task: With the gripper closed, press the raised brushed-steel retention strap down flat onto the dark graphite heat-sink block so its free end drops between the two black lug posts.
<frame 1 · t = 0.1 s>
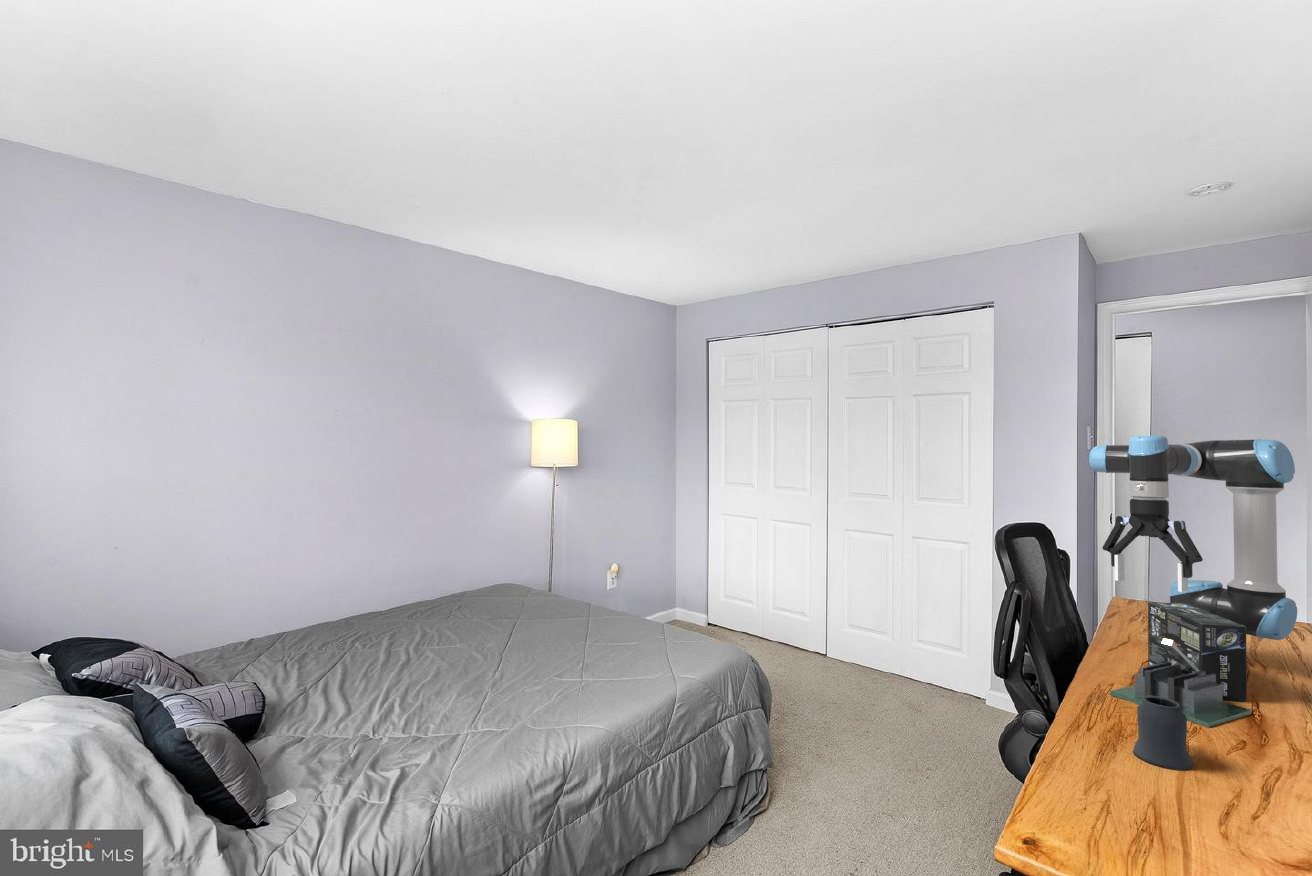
hand: (1150, 585, 150), 28 cm above the table, fingers open, 13 cm apart
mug: (1161, 757, 122), on the table
strap: (1182, 657, 149), point 11 cm above the table, hinge at 35.0°
box: (1194, 685, 161), on the table
heatsink: (1178, 704, 148), on the table
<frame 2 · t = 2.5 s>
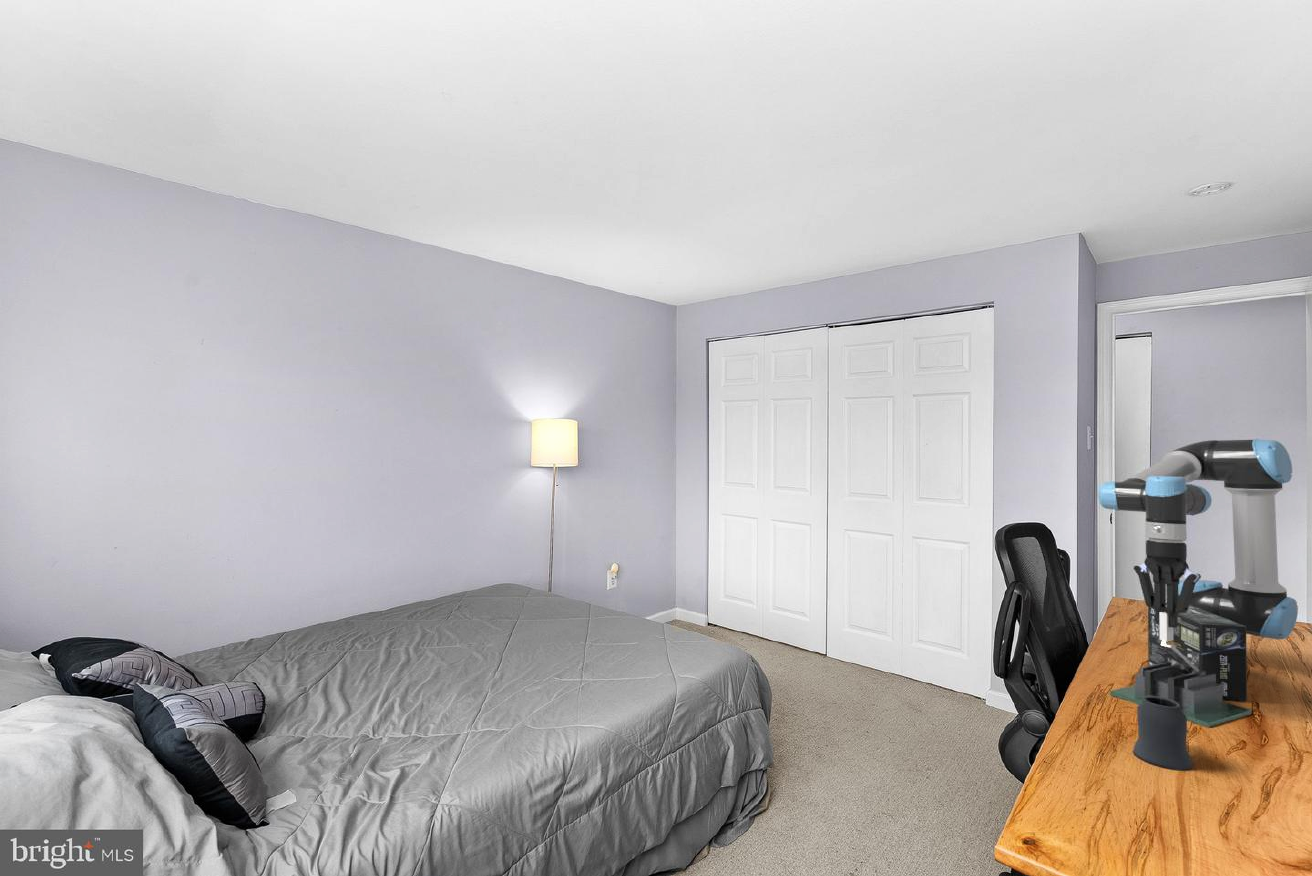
hand: (1166, 639, 146), 16 cm above the table, fingers closed
strap: (1182, 658, 149), point 11 cm above the table, hinge at 33.3°, touching gripper
everything else where it was.
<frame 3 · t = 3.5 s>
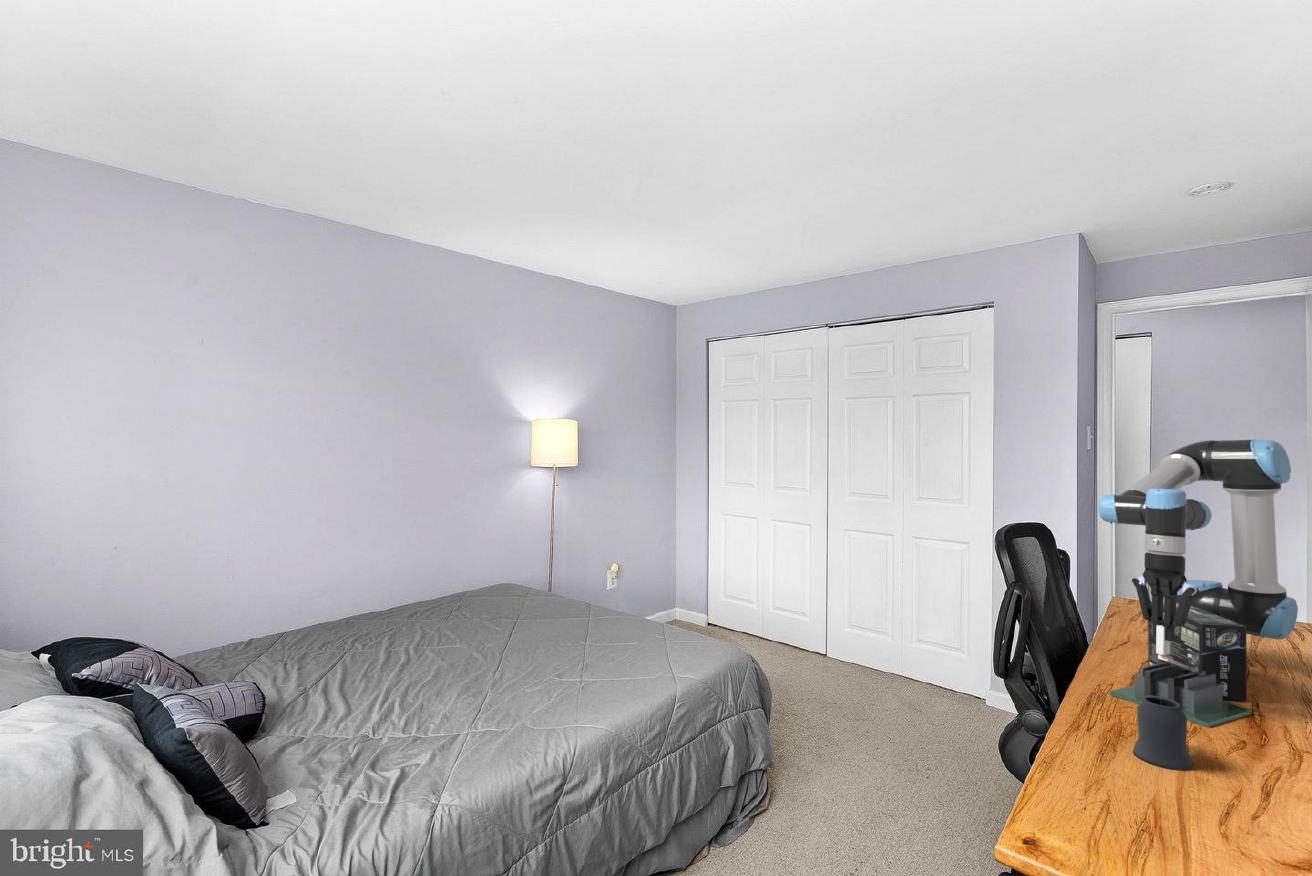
hand: (1163, 653, 146), 13 cm above the table, fingers closed
strap: (1180, 664, 149), point 9 cm above the table, hinge at 20.3°, touching gripper
everything else where it was.
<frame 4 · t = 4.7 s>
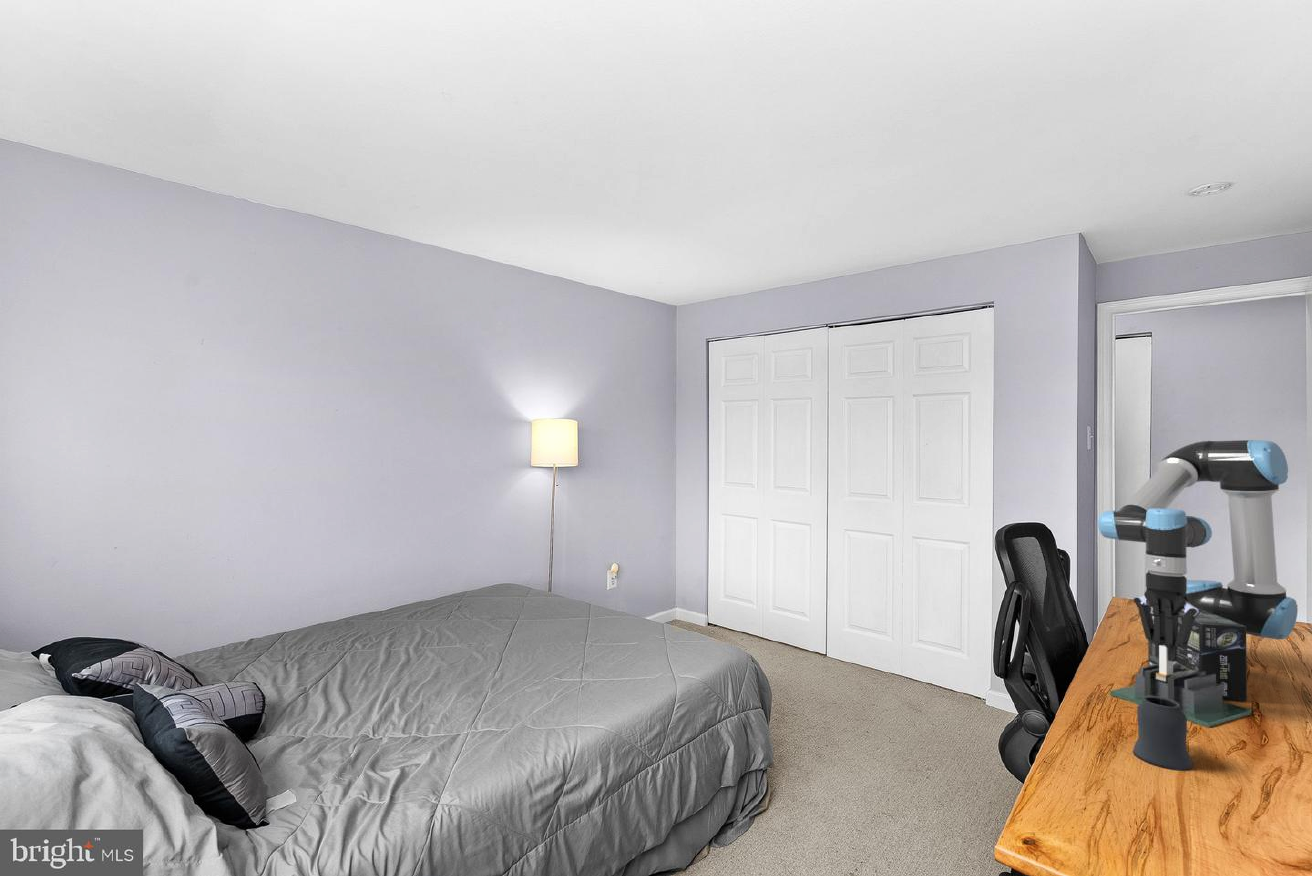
hand: (1166, 673, 146), 8 cm above the table, fingers closed
strap: (1179, 674, 148), point 7 cm above the table, hinge at 2.2°, touching gripper
everything else where it was.
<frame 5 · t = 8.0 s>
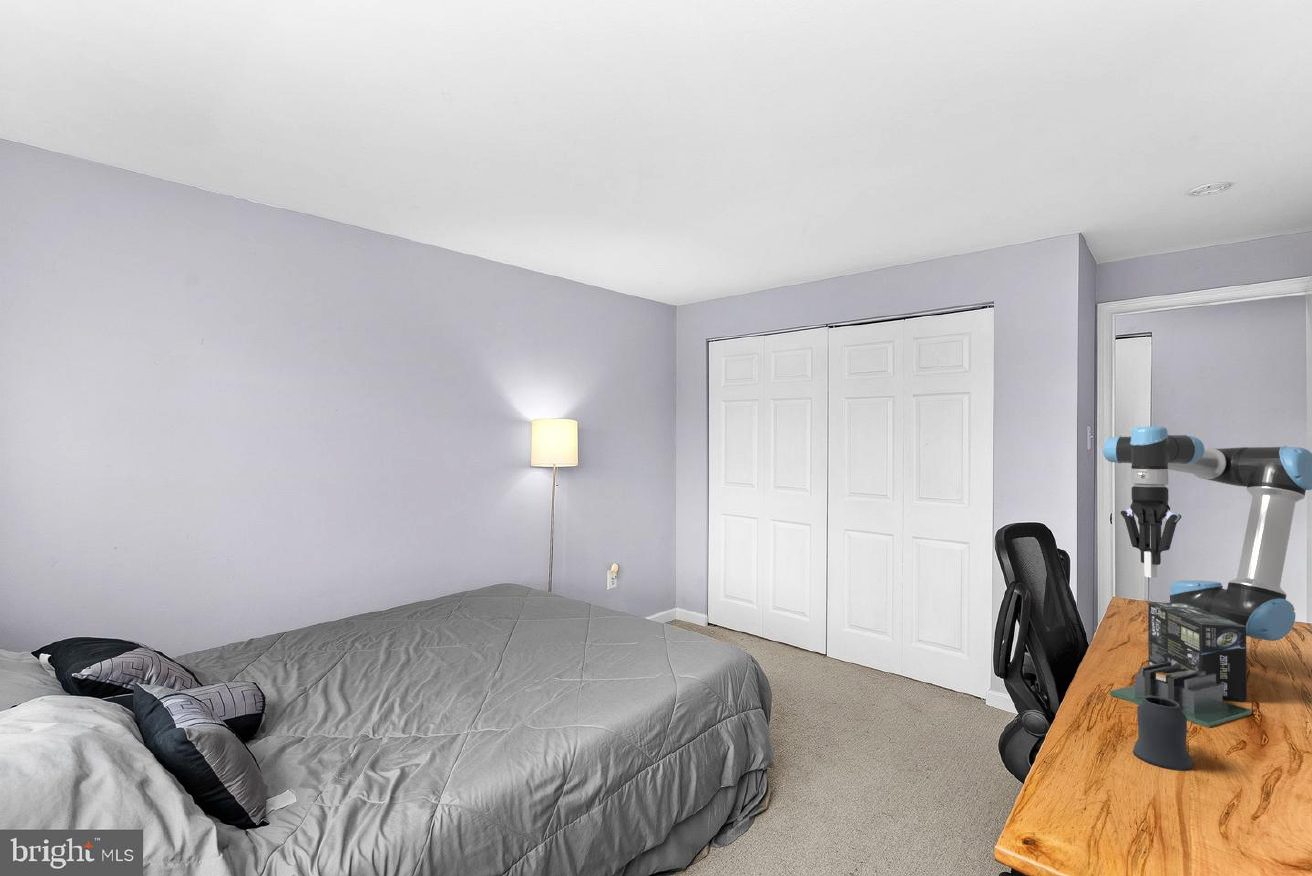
hand: (1150, 576, 160), 28 cm above the table, fingers closed
strap: (1179, 674, 148), point 7 cm above the table, hinge at 2.1°
everything else where it was.
at the end: strap at +2° (first picture: +35°) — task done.
